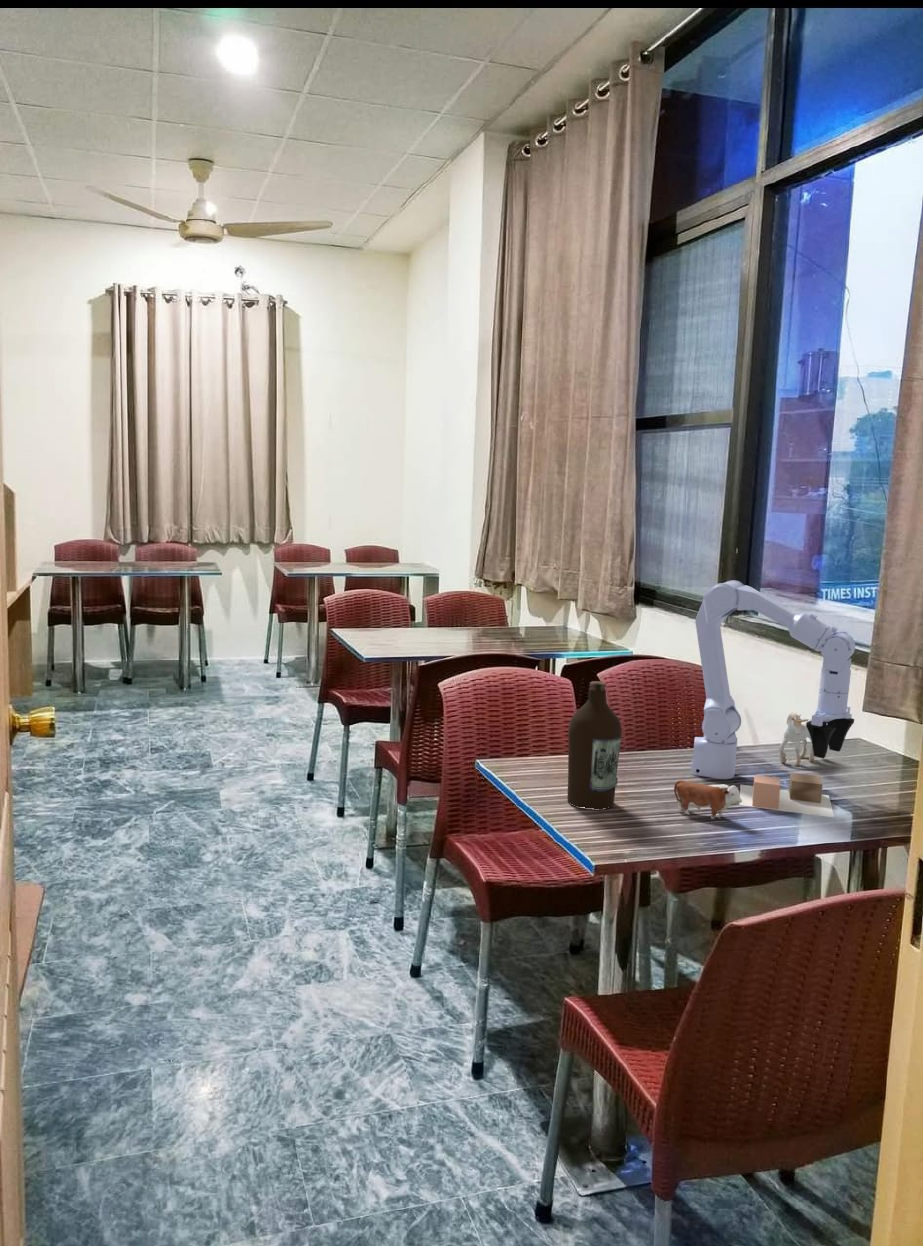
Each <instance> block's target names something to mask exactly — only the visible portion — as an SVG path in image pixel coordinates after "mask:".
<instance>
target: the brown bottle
mask: <svg viewBox="0 0 923 1246" xmlns="http://www.w3.org/2000/svg"><path fill="white" fill-rule="evenodd" d="M606 686H607V683H606V682H605V681H599V680H595V681H594V680H592V681H591V682H589V688H588V699H587V701H586V702H585V703H584V704H583V705H582V706H581V707H580V708H578V710H577V711H576V712H575V713H573V715H572V717H571V718H570V720H569V724H568V731H567V733H568V734H567V735H568V736H567V737H568V739H567V740H568V742H567V743H568V744H567V745H568V746H567V747H568V749H567V750H568V753H567V754H568V758H567V759H568V763H567V770H568V771H567V802H568V804H569V803H571V804H573V805H575V806H578V807H585V808H594V809H603V808H608V807H611V808H612V807H613V806H614V804H615V795H616V794H615V793H616V787H617V786H618V779H619V778H618V777H617V775H618V766H619V758H620V750H621V742H622V733H623V732H622V729H623V728H622V725H621V721H620V719H619V717H618V715H617V714H616V713H615V712H614V710H612V708H611V707H610V706H609V704H608V703H607V702H606V698H607V697H606V696H607V690H606ZM571 804H570V805H571Z"/></svg>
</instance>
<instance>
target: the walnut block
mask: <svg viewBox="0 0 923 1246" xmlns="http://www.w3.org/2000/svg"><path fill="white" fill-rule="evenodd" d="M789 777H790V778H789V788H788V791H789V795H790V799H792V800H799V801H807V802H815V803H821V795H823V785H824V784H823V781H822V776H821V775H815V774H808V773H807V774H806V773H797V772H790V776H789Z"/></svg>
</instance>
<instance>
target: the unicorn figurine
mask: <svg viewBox="0 0 923 1246" xmlns="http://www.w3.org/2000/svg"><path fill="white" fill-rule="evenodd" d="M801 716H802V715H801V714H797V712H793V711H791V712H790V713H789V714H788V716H787V719H786V725H787V727H786V728H785V729H784V731H783V739H782V741H781V743H780V745H779V748H778V751H779V760H780V762H781V763H782V764H785V763H786V762H787V758H786V757H787V754H786V753H785V752H784V750H785V746H786V745H787V744H788V742H789V743H793V744H794V746H795V747H794V748H795V753H796V757H795V758H796V759H795V760H794V761H795V762H794V764H793V766H795V767H799V766H800V764H801V759H804V758H805V757H806V754H807V744H808V741H807V739H809V740H810V742H811V743H812V740H811V736H810V733H809V731H808V729H807V727H806V723H807V722H808V721H812V718H810V719H808V718H806V719H804V718H803V719H802V718H800V717H801ZM800 743H802V749H800V745H801V744H800ZM800 750H801V752H800ZM808 761H809V762H810V763H813V762H814V761H815V756H814V753H813V746H812V745H811V748H810V750H809V757H808Z"/></svg>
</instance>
